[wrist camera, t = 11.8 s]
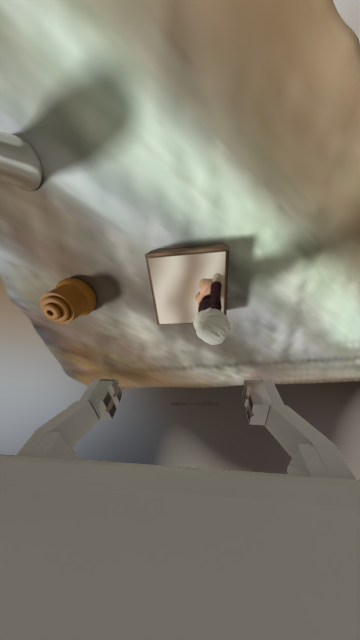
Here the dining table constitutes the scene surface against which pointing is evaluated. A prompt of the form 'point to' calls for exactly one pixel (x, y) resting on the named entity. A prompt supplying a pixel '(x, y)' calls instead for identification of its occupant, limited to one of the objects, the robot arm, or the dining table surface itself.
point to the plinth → (184, 280)
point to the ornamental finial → (68, 301)
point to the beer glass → (19, 163)
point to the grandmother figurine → (211, 312)
